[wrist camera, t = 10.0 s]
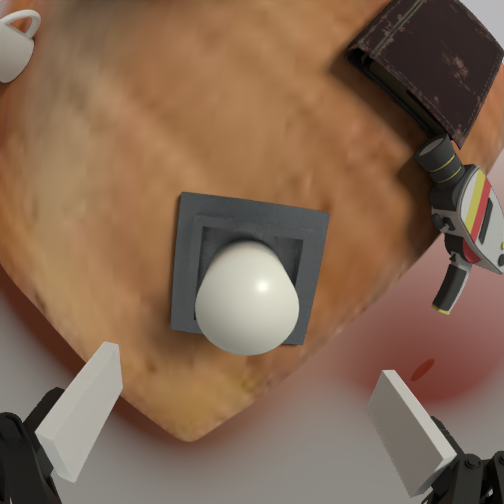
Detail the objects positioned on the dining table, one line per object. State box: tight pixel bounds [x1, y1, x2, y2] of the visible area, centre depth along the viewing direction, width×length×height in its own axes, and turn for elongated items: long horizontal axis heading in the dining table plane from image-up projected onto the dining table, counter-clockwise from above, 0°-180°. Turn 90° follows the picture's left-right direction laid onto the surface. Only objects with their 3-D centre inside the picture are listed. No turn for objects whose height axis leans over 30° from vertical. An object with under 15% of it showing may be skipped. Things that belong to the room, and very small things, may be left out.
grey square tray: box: [171, 192, 330, 345], centre depth 31 cm, size 16×16×4 cm
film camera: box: [414, 133, 504, 314], centre depth 29 cm, size 7×19×15 cm
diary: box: [345, 0, 504, 150], centre depth 25 cm, size 19×25×5 cm
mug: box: [0, 10, 41, 83], centre depth 20 cm, size 8×10×12 cm
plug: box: [195, 238, 299, 355], centre depth 27 cm, size 8×8×10 cm
